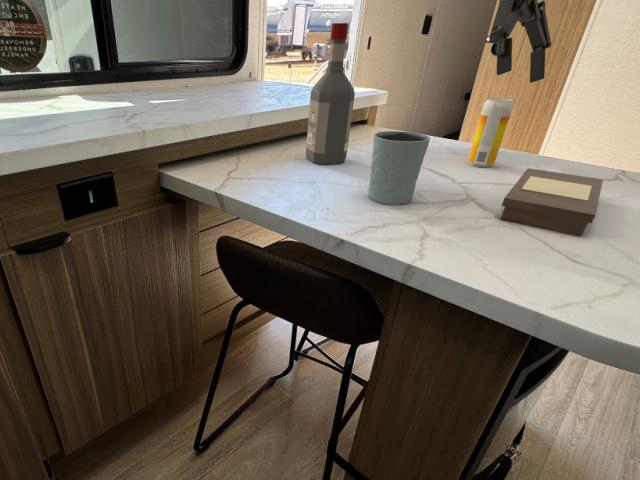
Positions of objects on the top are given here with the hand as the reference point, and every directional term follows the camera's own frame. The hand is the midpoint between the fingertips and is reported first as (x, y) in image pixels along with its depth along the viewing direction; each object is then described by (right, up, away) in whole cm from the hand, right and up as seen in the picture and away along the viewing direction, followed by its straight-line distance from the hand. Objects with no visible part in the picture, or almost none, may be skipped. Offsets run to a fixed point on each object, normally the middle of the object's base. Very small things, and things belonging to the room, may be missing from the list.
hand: (521, 77), depth 93 cm
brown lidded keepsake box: (-4, -33, -14) cm, 36 cm away
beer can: (-2, -16, +12) cm, 20 cm away
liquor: (-41, -14, +16) cm, 46 cm away
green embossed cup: (-33, -29, -8) cm, 45 cm away
